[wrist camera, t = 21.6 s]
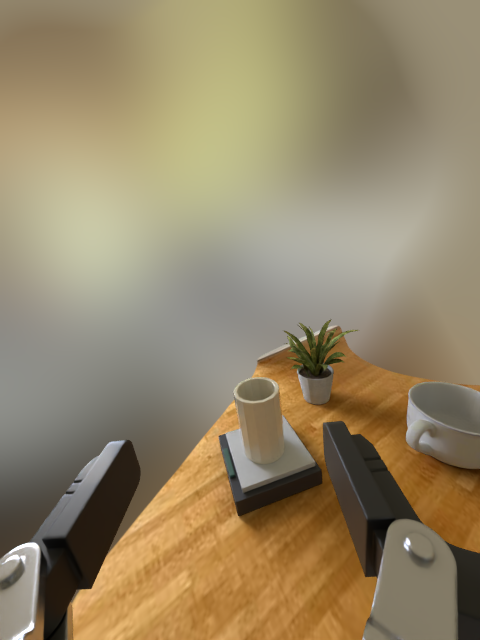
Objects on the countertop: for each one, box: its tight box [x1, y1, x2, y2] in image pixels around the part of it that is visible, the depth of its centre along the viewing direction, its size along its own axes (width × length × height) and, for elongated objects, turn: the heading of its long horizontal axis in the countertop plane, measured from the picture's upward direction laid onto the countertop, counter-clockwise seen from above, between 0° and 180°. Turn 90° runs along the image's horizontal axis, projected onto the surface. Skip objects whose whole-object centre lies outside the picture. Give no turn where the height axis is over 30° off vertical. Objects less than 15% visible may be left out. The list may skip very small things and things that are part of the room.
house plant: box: [284, 320, 358, 405], centre depth 49 cm, size 14×14×16 cm
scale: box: [219, 415, 322, 516], centre depth 37 cm, size 12×12×3 cm
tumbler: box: [234, 377, 285, 464], centre depth 35 cm, size 6×6×10 cm
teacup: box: [406, 382, 480, 469], centre depth 34 cm, size 14×11×8 cm
